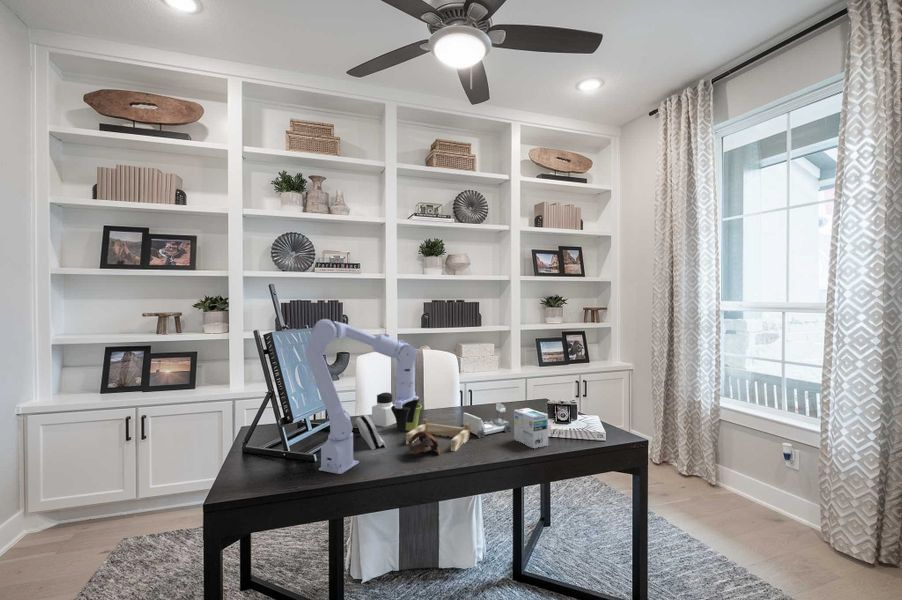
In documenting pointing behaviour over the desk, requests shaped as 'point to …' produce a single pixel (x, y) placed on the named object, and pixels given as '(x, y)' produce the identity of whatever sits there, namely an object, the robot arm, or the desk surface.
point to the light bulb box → (531, 427)
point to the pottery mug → (423, 443)
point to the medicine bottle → (383, 410)
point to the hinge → (369, 432)
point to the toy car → (486, 423)
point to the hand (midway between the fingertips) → (405, 425)
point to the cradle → (443, 433)
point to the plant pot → (415, 421)
